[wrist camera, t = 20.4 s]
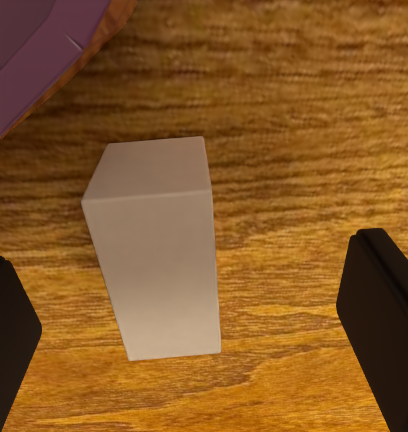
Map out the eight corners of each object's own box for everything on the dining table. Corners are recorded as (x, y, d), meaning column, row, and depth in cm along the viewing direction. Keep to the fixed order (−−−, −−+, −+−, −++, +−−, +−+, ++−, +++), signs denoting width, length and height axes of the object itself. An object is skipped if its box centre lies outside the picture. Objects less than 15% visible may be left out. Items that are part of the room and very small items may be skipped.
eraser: (106, 143, 11) (78, 201, 8) (203, 134, 11) (212, 190, 8) (138, 283, 14) (128, 362, 11) (213, 277, 14) (221, 354, 11)
